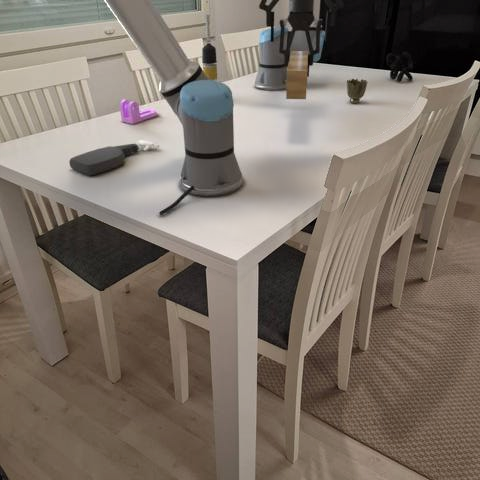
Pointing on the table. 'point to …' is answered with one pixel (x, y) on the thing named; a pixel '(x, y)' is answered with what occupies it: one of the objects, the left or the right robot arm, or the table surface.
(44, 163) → the table surface
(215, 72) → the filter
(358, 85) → the cup
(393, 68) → the squiggle
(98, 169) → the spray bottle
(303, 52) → the bar
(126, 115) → the bracket
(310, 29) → the right robot arm
